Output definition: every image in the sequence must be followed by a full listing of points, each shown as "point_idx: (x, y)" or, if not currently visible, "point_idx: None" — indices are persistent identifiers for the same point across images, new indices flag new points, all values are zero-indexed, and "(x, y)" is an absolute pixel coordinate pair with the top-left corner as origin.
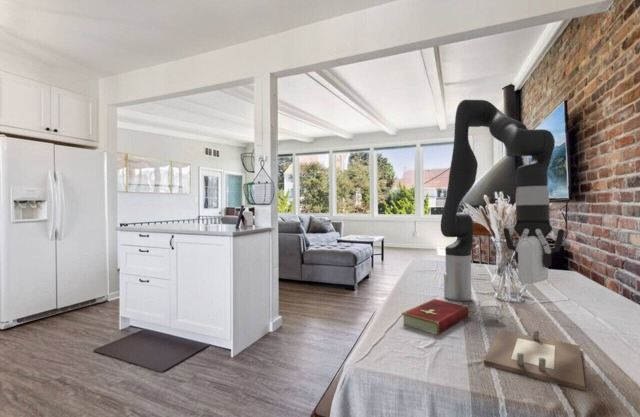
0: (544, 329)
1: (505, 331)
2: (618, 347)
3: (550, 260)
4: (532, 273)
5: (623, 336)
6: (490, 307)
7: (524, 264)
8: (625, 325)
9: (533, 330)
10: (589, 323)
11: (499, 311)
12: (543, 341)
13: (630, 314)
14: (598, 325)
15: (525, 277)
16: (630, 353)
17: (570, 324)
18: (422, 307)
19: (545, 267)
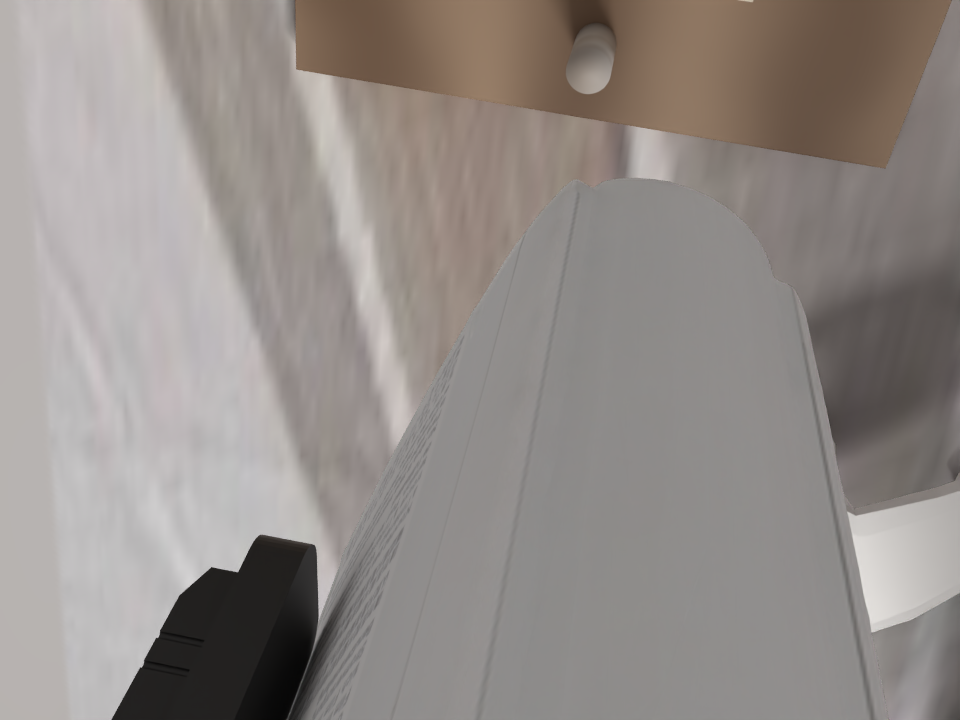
0: None
1: (832, 140)
2: (105, 214)
3: (159, 664)
4: (563, 266)
5: (93, 404)
6: (909, 494)
7: (725, 425)
8: (93, 562)
9: (611, 68)
10: (248, 544)
11: None
12: (542, 33)
13: (83, 703)
14: (207, 527)
15: (700, 236)
16: (45, 138)
17: (344, 500)
18: None
19: (304, 543)
